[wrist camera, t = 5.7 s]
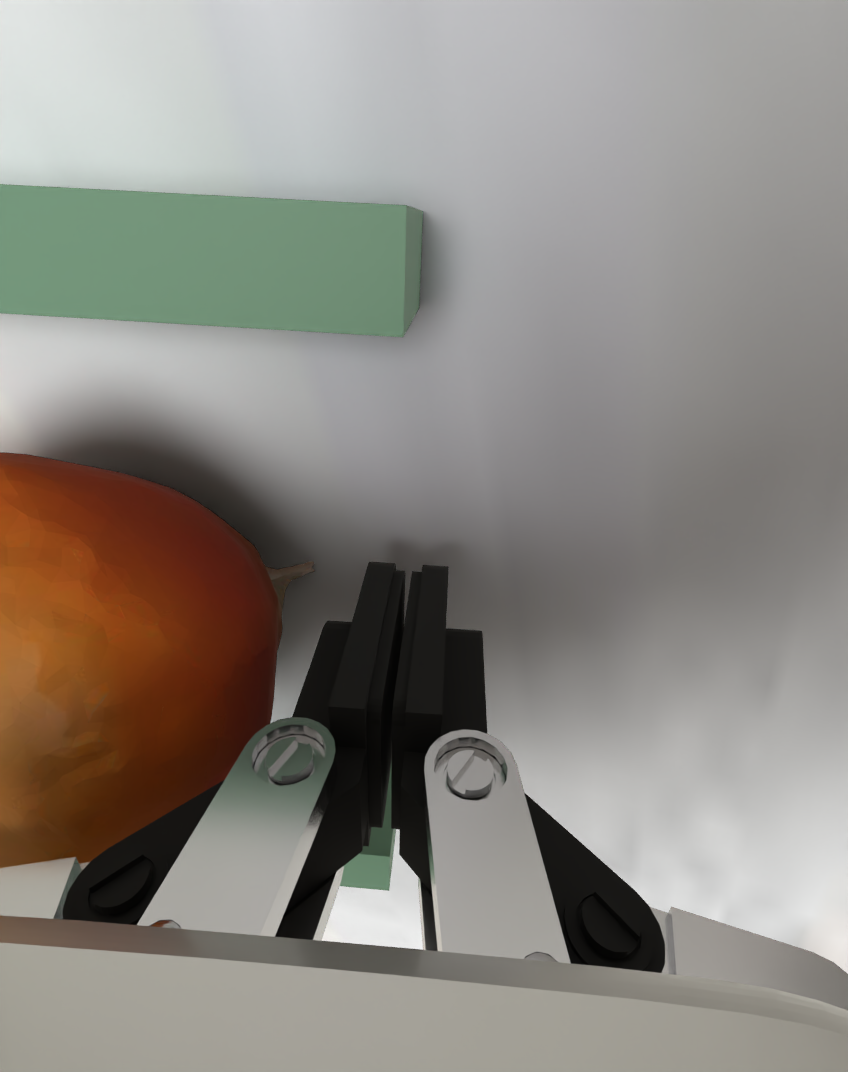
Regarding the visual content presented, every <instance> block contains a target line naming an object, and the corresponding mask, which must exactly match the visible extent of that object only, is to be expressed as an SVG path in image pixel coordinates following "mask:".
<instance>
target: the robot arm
mask: <svg viewBox="0 0 848 1072" xmlns="http://www.w3.org/2000/svg"><path fill="white" fill-rule="evenodd" d="M447 588H448V567H446V566H430V565H423V568H422V572H416V571H412V576H411V583H410V590H409V597H408V604H407V610H406V617H405V624H404V601H405V571H400V570H396V565H395V563H381V562H369V564H368V567H367V571H366V574H365V578H364V581H363V585H362V588H361V592H360V596H359V599H358V603H357V606H356V610H355V613H354V617H353V621H352V622H339V621H327V622H326V623H325V625H324V627H323V630H322V633H321V636H320V639H319V642H318V645H317V648H316V650H315V653H314V656H313V659H312V662H311V665H310V668H309V670H308V673H307V676H306V679H305V682H304V685H303V688H302V691H301V693H300V696H299V699H298V702H297V705H296V708H295V711H294V714H293V716H292V718H286V719H280V720H278V721H275V722H273V723H271V724H268V725H266V726H265V727H263V728H262V729H261V730H259V731H258V732H257V733H255V734H254V736H253V737H252V738H251V739H250V740H249V742H248V743H247V744H246V746H245V747H244V749H243V751H242V752H241V754H240V756H239V757H238V759H237V761H236V762H235V764H234V765H233V767H232V769H231V770H230V772H229V774H228V775H227V777H226V779H225V780H223V781H221V782H220V783H218V784H216V785H214V786H213V787H211V788H209V789H208V790H206V791H204V792H203V793H201V794H199V795H197V796H196V797H194V798H192V799H191V800H189V801H187V802H186V803H184V804H182V805H181V806H179V807H177V808H175V809H174V810H172V811H170V812H169V813H167V814H165V815H164V816H162V817H160V818H158V819H157V820H155V821H153V822H152V823H150V824H148V825H147V826H145V827H143V828H142V829H140V830H138V831H136V832H135V833H133V834H131V835H130V836H128V837H126V838H125V839H123V840H121V841H119V842H118V843H116V844H114V845H113V846H111V847H109V848H108V849H106V850H105V851H104V852H102V853H101V854H100V855H98V856H97V857H95V858H94V859H93V860H92V861H91V862H86V863H79V862H78V860H77V858H76V857H72V858H65V859H58V860H52V861H45V862H38V863H31V864H25V865H18V866H11V867H5V868H0V1072H848V974H847V973H846V972H845V971H843V970H842V969H841V968H840V967H839V966H837V965H836V964H835V963H834V962H832V961H830V960H828V959H826V958H824V957H822V956H819V955H817V954H815V953H813V952H811V951H808V950H804V949H801V948H798V947H795V946H792V945H789V944H786V943H783V942H780V941H776V940H773V939H770V938H767V937H764V936H761V935H758V934H755V933H752V932H749V931H745V930H742V929H739V928H736V927H733V926H730V925H727V924H724V923H721V922H717V921H714V920H711V919H708V918H705V917H702V916H699V915H696V914H693V913H689V912H686V911H683V910H680V909H677V908H674V907H671V908H670V910H669V913H667V912H664V911H661V910H658V909H654V908H651V907H649V906H648V904H647V903H646V902H645V901H644V900H643V899H642V898H641V897H640V896H639V894H638V893H637V892H636V891H635V890H634V889H632V888H631V887H630V886H629V885H628V884H627V883H626V882H625V881H623V880H622V879H621V878H620V877H619V876H618V875H617V874H616V873H614V872H613V871H612V870H611V869H610V868H609V867H608V866H607V865H605V864H604V863H603V862H602V861H601V860H600V859H599V858H597V857H596V856H595V855H594V854H593V853H592V852H591V851H590V850H588V849H587V848H586V847H585V846H584V845H583V844H582V843H581V842H579V841H578V840H577V839H576V838H575V837H574V836H573V835H572V834H570V833H569V832H568V831H567V830H566V829H565V828H564V827H563V826H561V825H560V824H559V823H558V822H557V821H556V820H555V819H554V818H552V817H551V816H550V815H549V814H548V813H547V812H546V811H545V810H543V809H542V808H541V807H540V806H539V805H538V804H537V803H535V802H534V801H533V800H532V799H531V798H530V797H529V796H528V795H526V794H525V793H524V790H523V786H522V783H521V779H520V775H519V772H518V768H517V764H516V762H515V760H514V758H513V756H512V753H511V752H510V751H509V750H508V749H507V747H506V746H505V745H504V744H503V743H502V742H501V741H499V740H498V739H496V738H494V737H493V736H491V735H489V734H487V720H486V699H485V678H484V657H483V637H482V631H476V630H461V629H446V611H447ZM391 762H392V770H391V828H392V829H400V853H399V854H400V856H401V857H402V858H403V859H404V860H405V862H406V863H407V864H408V865H409V866H410V868H411V869H412V870H413V871H414V872H415V874H416V875H417V876H418V877H419V882H418V889H419V902H420V916H421V929H422V943H423V950H419V949H408V948H397V947H385V946H374V945H363V944H352V943H340V942H329V941H321V940H322V937H323V934H324V931H325V928H326V925H327V922H328V919H329V916H330V913H331V910H332V907H333V904H334V901H335V898H336V895H337V892H338V889H339V886H340V883H341V880H342V875H343V869H344V865H346V864H347V863H348V862H349V861H351V860H352V859H353V858H354V857H356V856H357V855H358V854H359V853H361V852H362V850H363V846H369V841H370V835H371V828H372V827H378V828H382V827H383V821H384V814H385V807H386V799H387V792H388V784H389V777H390V769H391Z"/></svg>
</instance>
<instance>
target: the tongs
mask: <svg viewBox="0 0 848 1072" xmlns="http://www.w3.org/2000/svg"><path fill="white" fill-rule="evenodd" d="M422 223H423V211H421V210H418V209H415V208H413V207H410V206H407V205H390V204H370V203H351V202H332V201H312V200H293V199H274V198H255V197H235V196H216V195H197V194H177V193H158V192H139V191H119V190H100V189H81V188H62V187H42V186H23V185H4V184H0V313H6V314H23V315H39V316H56V317H73V318H90V319H106V320H123V321H140V322H157V323H174V324H190V325H207V326H224V327H241V328H257V329H274V330H291V331H308V332H324V333H341V334H358V335H375V336H391V337H404V335H405V333H406V331H407V329H408V328H409V326H410V324H411V322H412V320H413V318H414V316H415V315H416V313H417V311H418V309H419V301H420V275H421V249H422ZM391 770H392V762H391V769H390V777H389V784H388V792H387V799H386V807H385V814H384V821H383V827H382V828H378V827H372V828H371V835H370V841H369V846H363V850H362V852H361V853H359V854H358V855H357V856H356V857H354V858H353V859H352V860H351V861H349V862H348V863H347V864H346V865H344V869H343V875H342V880H341V883H340V886H346V887H357V888H368V889H378V890H389V886H390V877H391V868H392V860H393V851H394V842H395V833H396V829H392V828H391Z"/></svg>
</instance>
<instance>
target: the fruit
mask: <svg viewBox="0 0 848 1072" xmlns="http://www.w3.org/2000/svg"><path fill="white" fill-rule="evenodd" d="M313 565H314V562H310V561H309V562H307V563H304V564H300V565H295V566H292V567H285V568H281V569H278V570H277V569H273V568H270V567H267V566H265V565H264V563H263V562H262V560H261V557H260V555H259V552H258V551H257V549H256V548H255V547H254V545H253V544H252V543H251V542H249V541H248V540H247V539H246V538H245V537H243V536H242V535H241V534H240V533H238V532H237V531H236V530H235V529H234V528H232V527H231V526H230V525H229V524H227V523H226V522H225V521H224V520H223V519H221V518H220V517H219V516H217V515H216V514H214V513H213V512H212V511H210V510H209V509H207V508H206V507H204V506H203V505H201V504H200V503H198V502H197V501H195V500H194V499H192V498H190V497H188V496H186V495H184V494H182V493H180V492H178V491H176V490H174V489H172V488H169V487H167V486H163V485H160V484H157V483H154V482H151V481H148V480H144V479H141V478H138V477H135V476H131V475H127V474H124V473H120V472H115V471H110V470H105V469H100V468H95V467H90V466H85V465H80V464H75V463H70V462H64V461H59V460H54V459H48V458H43V457H38V456H32V455H26V454H14V453H0V868H5V867H11V866H18V865H25V864H31V863H38V862H45V861H52V860H58V859H65V858H72V857H76V858H77V860H78V862H79V863H86V862H91V861H92V860H93V859H94V858H95V857H97V856H98V855H100V854H101V853H102V852H104V851H105V850H106V849H108V848H109V847H111V846H113V845H114V844H116V843H118V842H119V841H121V840H123V839H125V838H126V837H128V836H130V835H131V834H133V833H135V832H136V831H138V830H140V829H142V828H143V827H145V826H147V825H148V824H150V823H152V822H153V821H155V820H157V819H158V818H160V817H162V816H164V815H165V814H167V813H169V812H170V811H172V810H174V809H175V808H177V807H179V806H181V805H182V804H184V803H186V802H187V801H189V800H191V799H192V798H194V797H196V796H197V795H199V794H201V793H203V792H204V791H206V790H208V789H209V788H211V787H213V786H214V785H216V784H218V783H220V782H221V781H223V780H225V779H226V777H227V775H228V774H229V772H230V770H231V769H232V767H233V765H234V764H235V762H236V761H237V759H238V757H239V756H240V754H241V752H242V751H243V749H244V747H245V746H246V744H247V743H248V742H249V740H250V739H251V738H252V737H253V736H254V734H255V733H257V732H258V731H259V730H261V729H262V728H263V727H265V726H266V725H268V724H270V721H271V715H272V708H273V699H274V686H275V673H276V659H277V650H278V646H279V642H280V639H281V635H282V609H283V602H284V594H285V590H286V588H287V586H288V585H289V583H290V582H291V580H293V579H296V578H298V577H301V576H303V575H305V574H308V573H310V572H314V571H315V570H314V569H312V566H313Z"/></svg>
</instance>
